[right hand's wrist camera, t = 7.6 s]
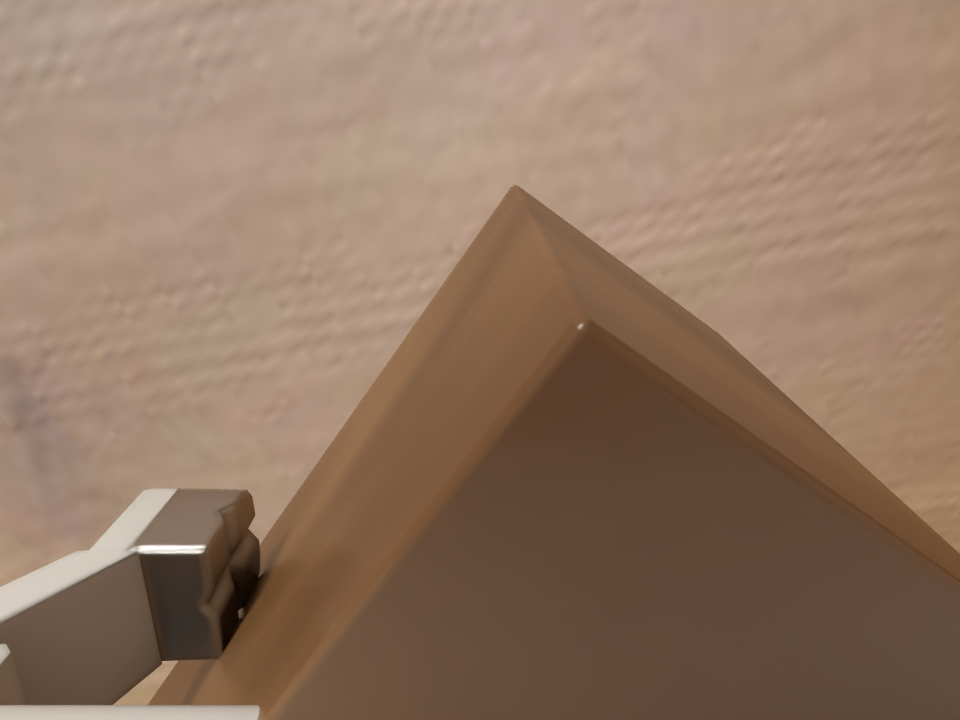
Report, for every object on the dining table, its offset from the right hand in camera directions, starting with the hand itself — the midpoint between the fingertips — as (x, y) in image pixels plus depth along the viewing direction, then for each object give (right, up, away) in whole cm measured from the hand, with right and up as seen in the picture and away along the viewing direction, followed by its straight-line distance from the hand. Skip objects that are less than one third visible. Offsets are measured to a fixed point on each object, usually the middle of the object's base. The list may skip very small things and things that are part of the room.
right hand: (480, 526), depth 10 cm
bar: (-4, -5, +5) cm, 8 cm away
